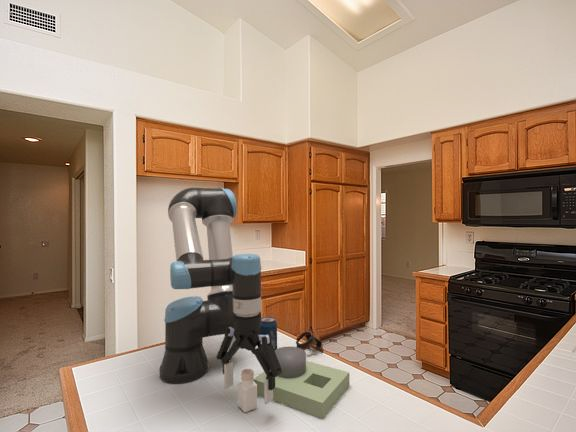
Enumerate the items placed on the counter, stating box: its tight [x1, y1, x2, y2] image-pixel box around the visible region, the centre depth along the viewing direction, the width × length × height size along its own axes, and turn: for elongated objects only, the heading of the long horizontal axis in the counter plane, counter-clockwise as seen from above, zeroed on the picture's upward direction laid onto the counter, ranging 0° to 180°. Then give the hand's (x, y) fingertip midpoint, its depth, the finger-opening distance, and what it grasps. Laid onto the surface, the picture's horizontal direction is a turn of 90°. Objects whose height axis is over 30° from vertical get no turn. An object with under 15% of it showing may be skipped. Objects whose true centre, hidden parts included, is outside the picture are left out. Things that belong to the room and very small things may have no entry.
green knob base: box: [253, 346, 350, 420], centre depth 92 cm, size 22×18×9 cm
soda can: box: [260, 316, 278, 351], centre depth 118 cm, size 7×7×12 cm
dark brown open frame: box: [295, 329, 324, 354], centre depth 119 cm, size 12×10×8 cm
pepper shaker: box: [237, 368, 258, 413], centre depth 83 cm, size 4×4×10 cm
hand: (248, 393), depth 83 cm, fingers open, 13 cm apart
